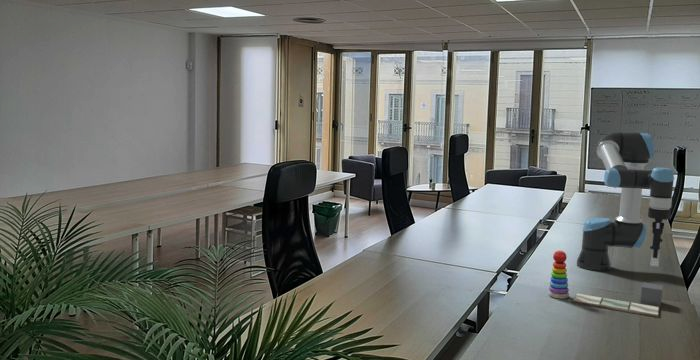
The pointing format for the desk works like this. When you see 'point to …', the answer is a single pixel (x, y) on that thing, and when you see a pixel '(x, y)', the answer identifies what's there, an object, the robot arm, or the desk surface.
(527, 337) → the desk surface
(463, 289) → the desk surface
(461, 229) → the desk surface
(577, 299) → the board
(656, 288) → the grey plain cubic block
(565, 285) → the stacking toy
